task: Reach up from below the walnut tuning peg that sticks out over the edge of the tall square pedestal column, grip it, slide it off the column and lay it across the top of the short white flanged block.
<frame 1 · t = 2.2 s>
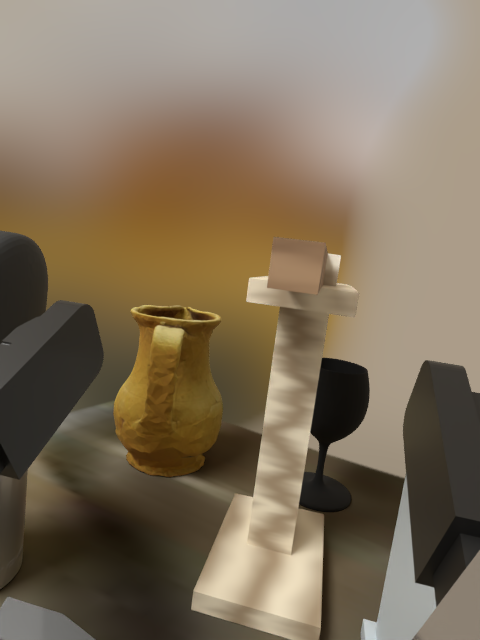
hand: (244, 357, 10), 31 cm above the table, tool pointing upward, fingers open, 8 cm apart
peg: (303, 284, 35), point 32 cm above the table, touching square pedestal column
pitcher: (160, 460, 68), on the table
wine glass: (316, 492, 64), on the table
square pedestal column: (266, 562, 48), on the table
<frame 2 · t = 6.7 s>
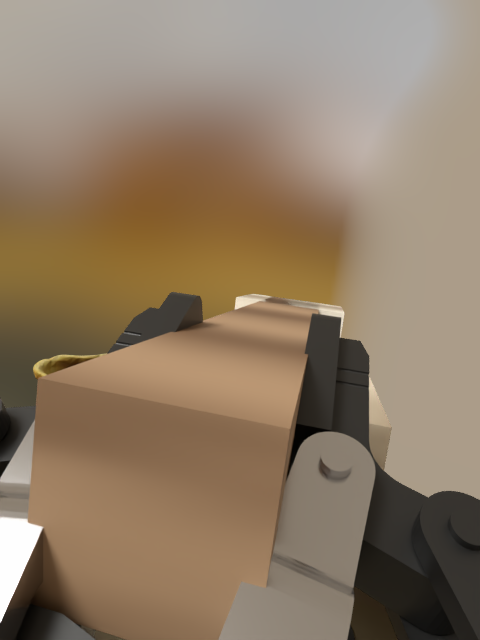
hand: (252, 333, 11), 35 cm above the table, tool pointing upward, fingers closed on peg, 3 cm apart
peg: (263, 394, 16), point 32 cm above the table, touching gripper, square pedestal column
pitcher: (84, 574, 48), on the table
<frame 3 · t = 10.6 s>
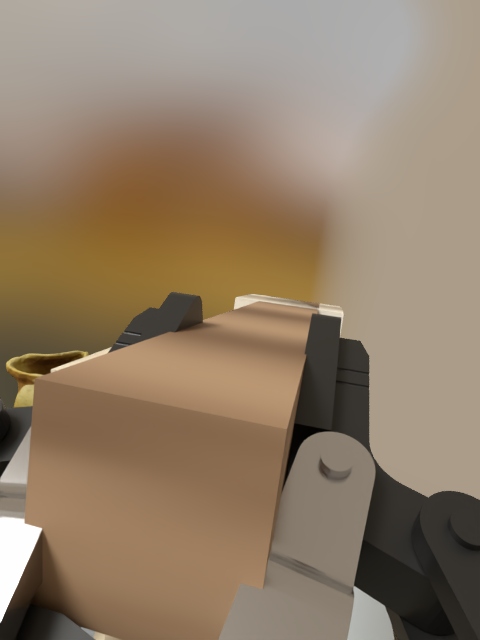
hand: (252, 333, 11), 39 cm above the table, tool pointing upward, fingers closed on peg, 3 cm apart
peg: (262, 394, 16), point 36 cm above the table, touching gripper
pitcher: (49, 527, 61), on the table
when the fingers open (26 cm above the table, at t = 14.4 s): peg stays where it is, resting on white flanged block.
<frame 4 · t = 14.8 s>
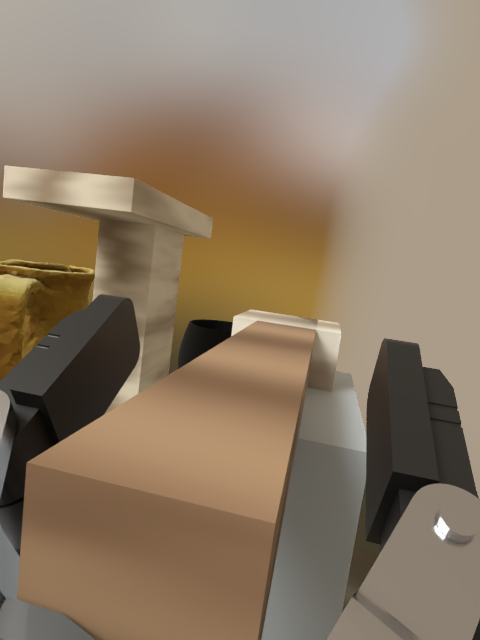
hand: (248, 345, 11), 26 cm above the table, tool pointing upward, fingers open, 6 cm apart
peg: (259, 420, 16), point 22 cm above the table, touching white flanged block
pitcher: (33, 439, 59), on the table
wine glass: (204, 475, 56), on the table
square pedestal column: (98, 550, 39), on the table
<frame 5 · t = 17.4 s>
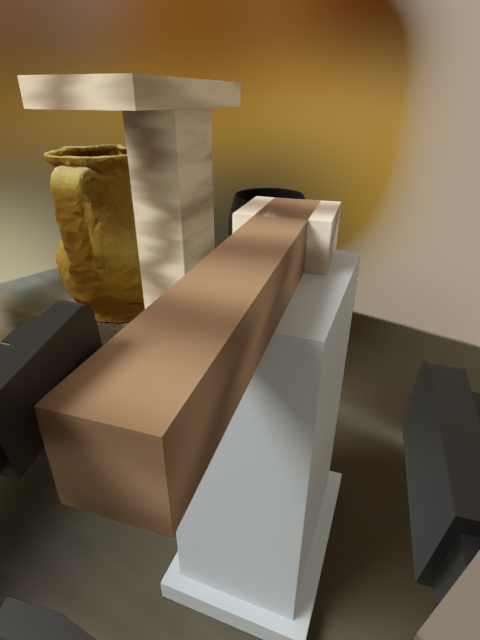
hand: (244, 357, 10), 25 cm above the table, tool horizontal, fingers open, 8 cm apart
peg: (248, 315, 19), point 22 cm above the table, touching gripper
pitcher: (118, 309, 70), on the table
wine glass: (264, 333, 62), on the table
square pedestal column: (175, 395, 49), on the table
white flanged block: (262, 533, 34), on the table
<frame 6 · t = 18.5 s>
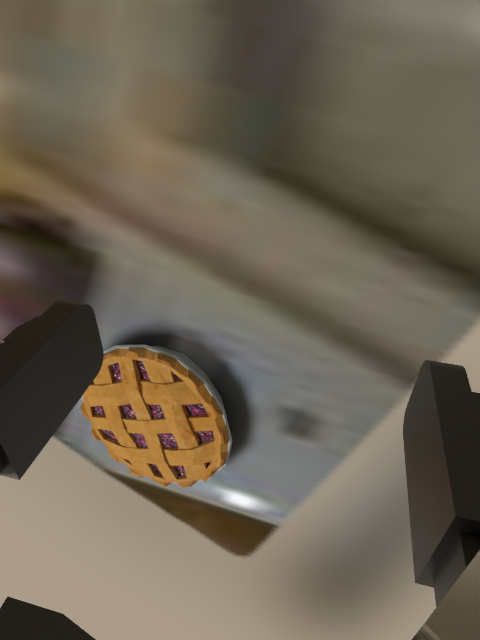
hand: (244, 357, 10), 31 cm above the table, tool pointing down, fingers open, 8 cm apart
pie: (165, 404, 57), on the table
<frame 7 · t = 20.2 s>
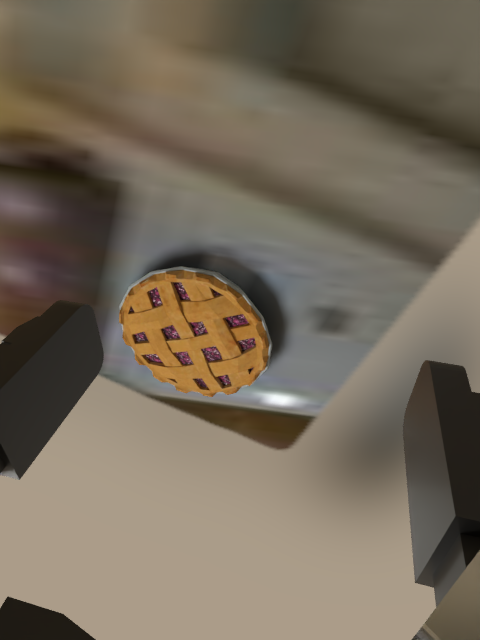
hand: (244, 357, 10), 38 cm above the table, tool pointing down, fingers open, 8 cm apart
pie: (201, 323, 61), on the table
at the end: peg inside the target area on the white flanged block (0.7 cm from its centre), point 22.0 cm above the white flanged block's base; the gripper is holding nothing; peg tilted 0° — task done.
